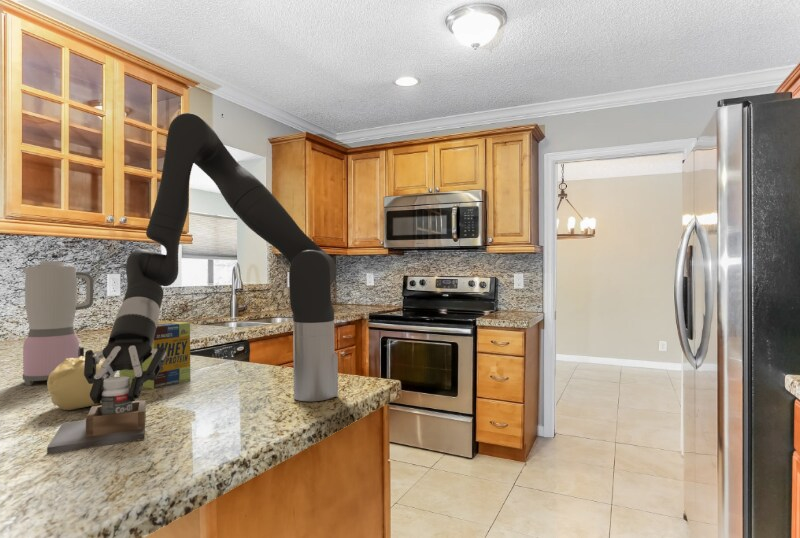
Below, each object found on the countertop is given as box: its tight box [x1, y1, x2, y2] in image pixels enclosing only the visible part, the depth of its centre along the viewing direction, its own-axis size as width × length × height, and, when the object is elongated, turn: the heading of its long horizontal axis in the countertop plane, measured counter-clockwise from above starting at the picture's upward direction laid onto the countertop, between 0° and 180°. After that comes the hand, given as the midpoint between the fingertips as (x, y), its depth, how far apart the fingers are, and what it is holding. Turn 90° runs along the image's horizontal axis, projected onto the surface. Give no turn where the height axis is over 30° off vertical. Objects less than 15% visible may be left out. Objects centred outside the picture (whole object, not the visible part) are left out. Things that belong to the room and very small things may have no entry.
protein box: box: [118, 320, 191, 390], centre depth 123 cm, size 10×15×16 cm
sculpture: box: [46, 355, 115, 411], centre depth 100 cm, size 12×12×11 cm
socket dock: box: [46, 399, 147, 455], centre depth 82 cm, size 13×14×4 cm
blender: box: [21, 260, 95, 386], centre depth 127 cm, size 16×12×32 cm
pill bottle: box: [101, 376, 132, 416], centre depth 84 cm, size 5×5×8 cm
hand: (113, 399), depth 82 cm, fingers open, 5 cm apart
